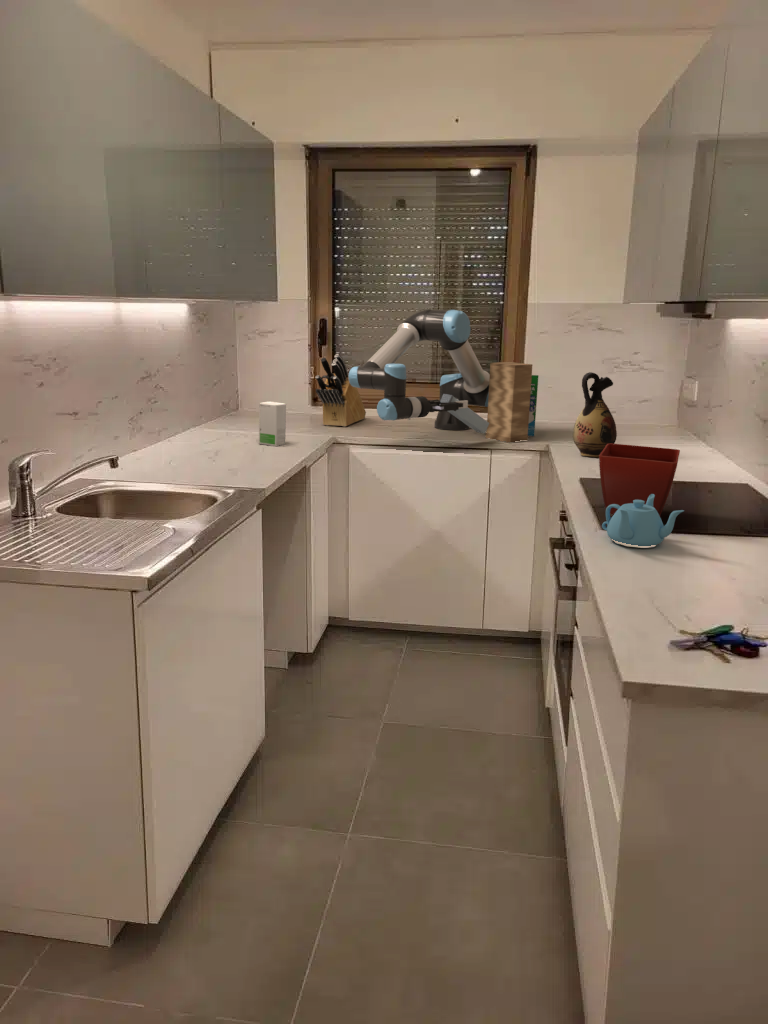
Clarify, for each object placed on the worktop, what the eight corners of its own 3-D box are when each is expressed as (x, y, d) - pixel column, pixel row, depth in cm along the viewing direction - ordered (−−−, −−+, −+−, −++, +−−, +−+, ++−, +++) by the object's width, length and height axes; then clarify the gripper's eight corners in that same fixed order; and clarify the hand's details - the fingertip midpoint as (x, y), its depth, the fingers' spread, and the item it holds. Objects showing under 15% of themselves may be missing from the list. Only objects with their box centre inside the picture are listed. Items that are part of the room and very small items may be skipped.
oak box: (485, 437, 324) (489, 362, 316) (503, 435, 330) (507, 361, 322) (510, 443, 314) (515, 365, 306) (528, 440, 320) (533, 364, 312)
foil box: (438, 404, 298) (443, 393, 298) (476, 432, 313) (481, 421, 314) (446, 406, 294) (451, 395, 295) (484, 433, 310) (489, 423, 310)
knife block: (313, 428, 337) (312, 354, 329) (343, 417, 369) (343, 349, 361) (338, 430, 334) (338, 355, 325) (366, 419, 366) (367, 350, 358)
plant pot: (669, 527, 203) (677, 462, 198) (592, 518, 209) (598, 455, 205) (673, 509, 220) (680, 449, 215) (601, 501, 227) (607, 443, 222)
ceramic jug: (597, 450, 302) (604, 370, 295) (623, 458, 289) (631, 374, 281) (559, 452, 296) (565, 370, 289) (583, 460, 283) (590, 375, 275)
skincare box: (258, 444, 301) (257, 402, 297) (268, 441, 306) (268, 400, 302) (276, 446, 297) (276, 404, 293) (287, 443, 303) (286, 402, 299)
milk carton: (532, 432, 339) (536, 372, 332) (534, 436, 330) (538, 375, 324) (510, 431, 340) (514, 372, 333) (512, 435, 331) (515, 374, 324)
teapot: (594, 533, 196) (597, 493, 193) (652, 532, 198) (657, 492, 195) (617, 552, 182) (621, 509, 179) (680, 551, 184) (685, 508, 181)
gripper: (399, 414, 295) (445, 410, 310) (431, 420, 282) (478, 416, 296) (400, 394, 293) (446, 390, 308) (432, 399, 280) (479, 395, 294)
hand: (462, 403), depth 302 cm, fingers closed on foil box, 4 cm apart
